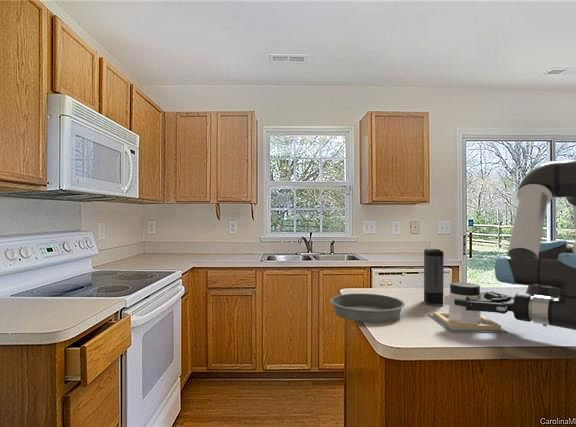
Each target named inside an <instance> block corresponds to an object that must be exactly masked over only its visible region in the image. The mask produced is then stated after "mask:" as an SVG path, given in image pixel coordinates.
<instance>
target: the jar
mask: <svg viewBox="0 0 576 427" xmlns="http://www.w3.org/2000/svg"><path fill="white" fill-rule="evenodd" d="M449 285H450V286H449V293H448V295H449V296H456V297H461V298H466V297H469V300H480V291H481V290H480V288H481V286H480V285H479V284H478V283H477V284H476V283H473V282H463V281H460V282H458V281H457V282H455V281H453V282H451V283H450V284H449ZM448 307H449V308H448V312H449V320H450V321H452V322H453V323H455V324H480V315H481V311H470V310H469V311H468V310H466V308H463V307H457V306H452V305H448Z"/></svg>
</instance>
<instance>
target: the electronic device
mask: <svg viewBox="0 0 576 427" xmlns="http://www.w3.org/2000/svg"><path fill="white" fill-rule="evenodd" d="M423 252H424V253H423V269H424V270H423V272H424V273H423V300H424V302H425V304H426V305H427V306H431V305H432V307H433V306H436V307H441V306H443V305H444V269H445V268H444V262H445V260H444V253H445V252H444V251H443V250H441V249H437V248H425V249H424V251H423Z"/></svg>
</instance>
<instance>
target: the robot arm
mask: <svg viewBox="0 0 576 427" xmlns="http://www.w3.org/2000/svg"><path fill="white" fill-rule="evenodd" d="M516 198H517V199H518V204H517V209H516V213H515V218H514V223H513V226H512V232H511V235H510V240H509V245H508V248H507V253H506V255H499V256H498V257H497V258H496V259H495V263H494V276H495V279H496V280H497V281H498V282H500V283H503V284H509V285H519V286H521V285H522V286H527V288H526V291H525V293H524V292H517V293H516V294H515V295H514V296H513V295H509V294H504V293H500V292H497V291H496V292H495V291H494V290H493V291H486V292H485V291H483V290H482V291H481V290H480V300H469V297H466V298H461V297H456V296H449V294H443V305H447V306H449V305H452V306H457V307H463V308H466V310H468V311H469V310H470V311H480V312H483V313H497V314H502V315H505V314H507V313H508V312H512V313H513V316H514V319H515V320H517V321H522V322H528V323H530V322H533V323H535V324H539V325H542V326H543V327H545V328H546V327H548V326H551V327H556V328H563V329H568V330H573V331H576V240H575V241H574V242H573V244H571V243H570V244H569V243H568V241H567V240H564V239H560V240H547V241H542V237H543V231H544V224H545V218H546V211H547V206H548V204H549V203H550V202H551V201H552V200H553V198H566V201H567V202H568V203H569V204H570V205H571V206H572V210H573V212H572V213H573V219H574V229H575V230H574V231H575V232H576V159H572V160H561V161H559V160H558V161H549V162H545V163H543V164H541V165H538V166H537V167H536V168H534V169H532V170H531V171H530V172H529V173H528V174H527V175H525V177H524V178H523V179H522V181H521V182H520V184H519V186H518V187H517V193H516Z"/></svg>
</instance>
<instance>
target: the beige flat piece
mask: <svg viewBox="0 0 576 427" xmlns="http://www.w3.org/2000/svg"><path fill="white" fill-rule="evenodd" d="M428 316H429V317H430V318H431V319H432V320H434V321H435V322H436V323H438V324H439V325H440V326H442V327H443V328H444V329H446V330H449V331H448V332H450V333H496V334H497V333H498V334H499V333H505V334H506V333H509V332H508V331H507V330H506V329H504V328H502V325H500V324H499V323H497V322H495V321H493V320H492V319H489V318H487V317H485V316H484V315H482V314H480V324H455V323H453V322H452V321H450V320H449V311H448V312H447V311H444V312H443V311H433V314H428Z"/></svg>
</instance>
